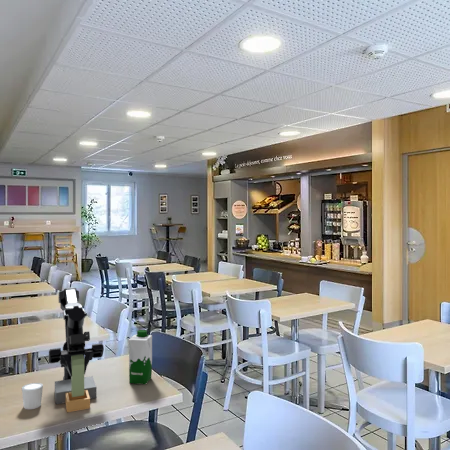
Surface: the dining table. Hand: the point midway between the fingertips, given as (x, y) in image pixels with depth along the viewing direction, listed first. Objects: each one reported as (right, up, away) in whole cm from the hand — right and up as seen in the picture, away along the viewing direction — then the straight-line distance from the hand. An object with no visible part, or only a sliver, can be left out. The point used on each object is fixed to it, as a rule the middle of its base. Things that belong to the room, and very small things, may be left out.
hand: (77, 375), depth 150 cm
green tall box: (-1, -7, +1) cm, 7 cm away
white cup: (-16, -11, +1) cm, 20 cm away
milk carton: (+17, -11, +25) cm, 32 cm away
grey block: (-3, -11, +7) cm, 13 cm away
